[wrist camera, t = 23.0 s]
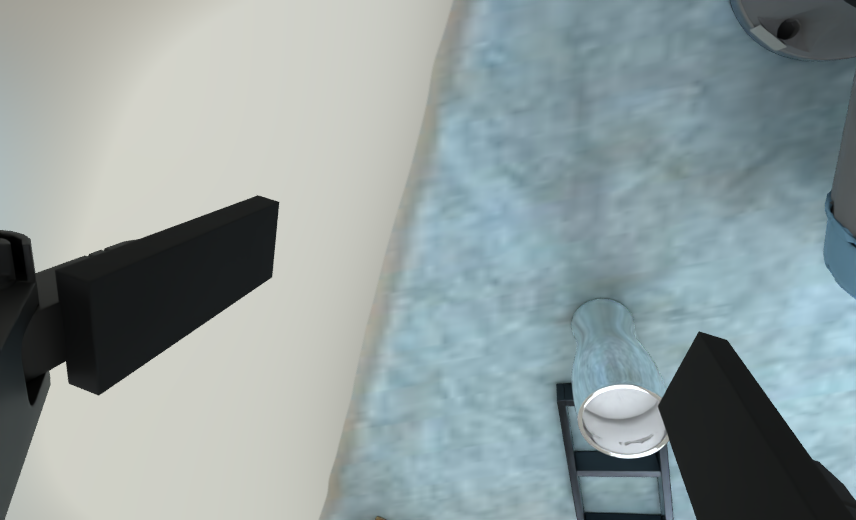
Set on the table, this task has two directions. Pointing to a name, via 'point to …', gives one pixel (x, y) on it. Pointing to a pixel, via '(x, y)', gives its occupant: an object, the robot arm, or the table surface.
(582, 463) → the black divided tray
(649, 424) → the beer glass
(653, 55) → the table surface
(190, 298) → the robot arm
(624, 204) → the table surface
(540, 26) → the table surface
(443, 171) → the table surface
